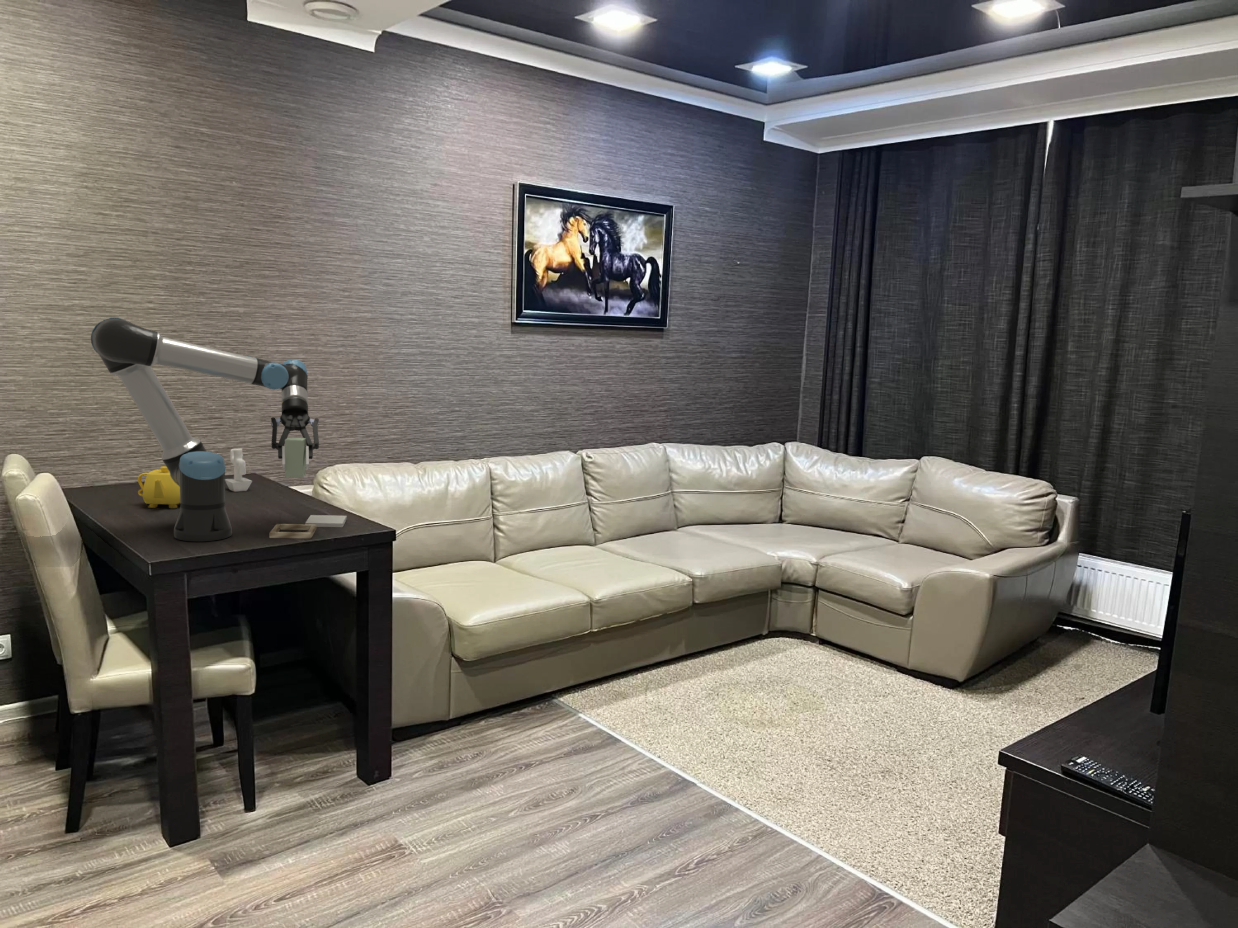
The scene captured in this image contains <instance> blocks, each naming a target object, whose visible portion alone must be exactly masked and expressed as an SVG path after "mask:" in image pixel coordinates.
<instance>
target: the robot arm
mask: <svg viewBox="0 0 1238 928" xmlns="http://www.w3.org/2000/svg"><path fill="white" fill-rule="evenodd" d="M90 343H91V346H92V348H93V350H94V351H95V352H96V353H97V354H98V355H99V358H101V360H102V362H103V364H104V365H105V367H106V369H107V371H108V372H109V373H110V375H113V376H116V377H118V378H119V379H120V380H121V383H122V384H123V386H124V387H125V388H126V391H127V392H128V394H129V396H130V398H131V399H132V400H133V402H134V405H136V408H137V410H138V411H139V412H140V414H141V416H142V417H143V419H144V421H145V422H146V424H147V426H148V428H149V429H150V430H151V433H152V434H153V435H154V438H155V439H156V440H157V442H158V444H159V445H160V447H161V449H162V454H161V457H160V458H161V460H162V462H163V464H164V465H165V466H166V467H167V468H168V470H169V472H170V476H171V478H172V479H173V481H174V482H175V483H176V484H177V485H179V486H180V504H179V506H180V507H179V509H180V511H179V512H178V516H177V519H176V522H175V524H174V528H173V538H175V539H176V540H180V541H185V542H210V541H219V540H223V539H227V538H229V537H231V536H232V535H233V528H232V523H231V521H230V518H229V515H228V513H227V509H226V482H225V479H226V463H225V459H224V457H223V456H222V455H221V454H219V453H217V452H212V451H207V449H206V448H205V446H204V444H203V443H202V441H201V439H200V438H197V437H193V436H192V435H191V433H190V430H189V429H188V427H187V426H186V424H185V422H184V421H183V418H182V416H181V415H180V413H179V412H178V410H177V409H176V407H175V404H174V403H173V402H172V400H171V398H170V396H169V395H168V393H167V391H166V390H165V388H164V386H163V385H162V383H161V380H160V379H159V378H158V376H157V374H156V372H155V370H154V369H153V366H154V365H160V366H166V367H169V368H174V369H179V370H183V371H189V372H194V373H196V374H197V373H198V374H202V375H203V374H204V375H207V376H212V377H216V378H217V377H218V378H220V379H227V380H231V381H235V382H236V381H237V382H240V383H244V384H249V385H255V386H258V387H263V388H267V389H270V390H281V415H280V416H279V418H276V417H271V418H270V425H271V427H272V432H271V449H272V450H277V457H278V459H279V460H282V463H281V465H282V471H283V470H284V471H285V439H287V438H289V437H288V436H289V434H290V432H293V431H297V432H299V433H300V434H301V435H302V438H306V471H308V470H310V460H312V459H313V457H314V455H313V454H314V453H313V452H314V450H318V449H319V448H320V447H319V446H320V441H319V440H320V439H319V430H318V429H319V428H318V427H319V424H320V423H319V422H320V421H319V420H320V419H319V418H317V417H316V418H311V417H310V416H309V405H308V404H309V397H308V395H309V394H308V393H309V392H308V379H309V377H308V369H307V366H306V364H305V363H304V362H303V361H301V360H299V359H288V360H285V361H284V362H283V363H279V362H275V361H271V360H266V359H263V358H259V357H254V356H249V355H248V356H247V355H242V354H238V353H235V352H229V351H225V350H220V349H217V348H212V347H209V346H204V345H199V344H195V343H191V342H186V341H182V340H178V339H175V338H170V337H169V338H168V337H166V336H165V337H164V336H163V335H161V333H160V332H159V331H156V330H152V329H148V328H144V327H142V326H141V325H140V326H139V325H137V324H135V323H133V322H131V321H128V320H126V319H123V318H120V317H109V318H106V319H103V320H101V321H99V322H98V323H97V324H96V325H95V326H94V328H93V329H92V331H91V334H90ZM280 424H282V425H283V427H284V429H283V431H282V434H281V436H280V438H279V441H278V442H277V439H278V438H277V437H278V427H279V426H280ZM308 424H310V427H312V435H313V442H312V439H311V437H310V435H309V433H308V430H307V428H306V427H307V426H308Z"/></svg>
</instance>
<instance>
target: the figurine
mask: <svg viewBox="0 0 1238 928" xmlns="http://www.w3.org/2000/svg"><path fill="white" fill-rule="evenodd" d="M229 455H230V456H229V458H230V463H231V464H232V465H233V478H225V485H227V488H228V489H229V491H232V492H247V491H248V489H249V488H250V486H251V484H252V483H253V480H251V479H248V478H246V477H243V476H244V475H246V473H247V470H246V469H247V464H246V463H247V462H246V461H245V459H243V457H244V453H243V448H241V447H240V448H232V449H230V454H229Z"/></svg>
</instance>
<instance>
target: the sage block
mask: <svg viewBox="0 0 1238 928" xmlns="http://www.w3.org/2000/svg"><path fill="white" fill-rule="evenodd" d="M284 446H285V470H284V477H285V478H288V479H289V478H294V479H303V478H305V476H306V475H307V472H306V471H307V470H306V438H303V437H287V439H285V444H284Z"/></svg>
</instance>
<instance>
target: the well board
mask: <svg viewBox="0 0 1238 928" xmlns="http://www.w3.org/2000/svg"><path fill="white" fill-rule="evenodd" d="M291 531H292V532H291ZM295 531H296V532H295ZM301 531H303V532H301ZM304 531H305V532H304ZM316 531H317V527H316V525H312V524H302V523H301V524H299V523H298V524H297V523H276V524H275V525H274V527H273V528H272V529H271V530H270V532H269V533H268V535H269V539H312V537H313V536H314V534H315V532H316Z"/></svg>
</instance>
